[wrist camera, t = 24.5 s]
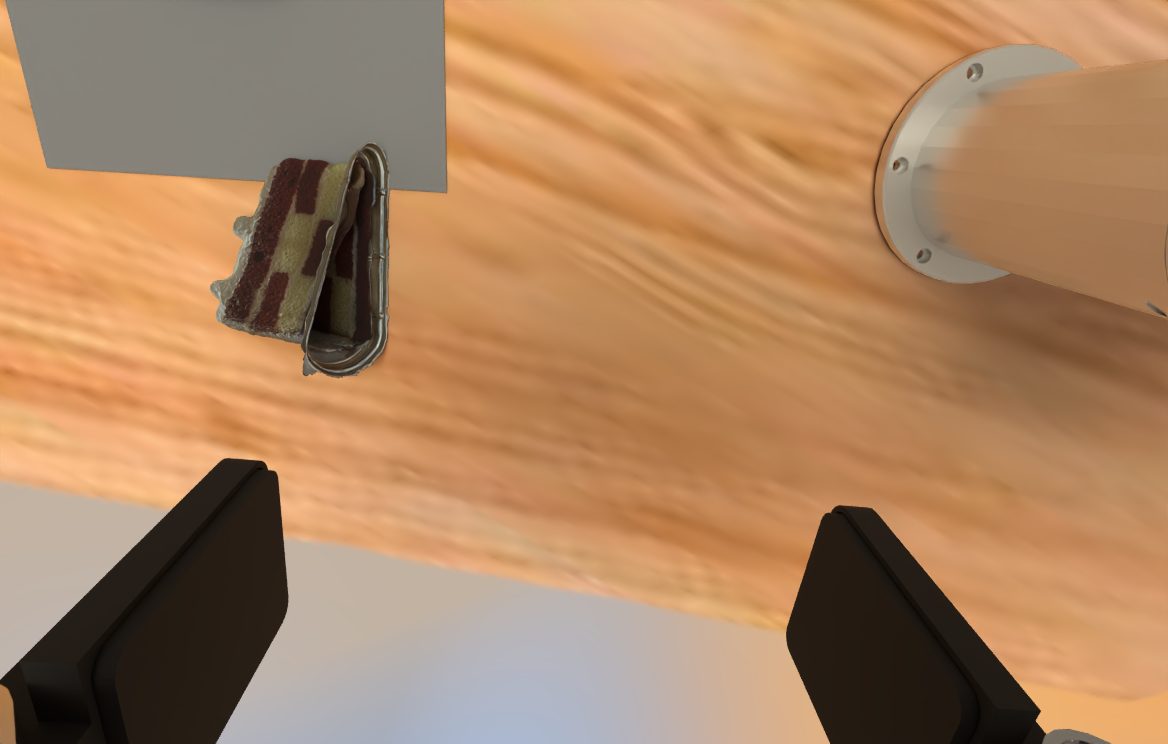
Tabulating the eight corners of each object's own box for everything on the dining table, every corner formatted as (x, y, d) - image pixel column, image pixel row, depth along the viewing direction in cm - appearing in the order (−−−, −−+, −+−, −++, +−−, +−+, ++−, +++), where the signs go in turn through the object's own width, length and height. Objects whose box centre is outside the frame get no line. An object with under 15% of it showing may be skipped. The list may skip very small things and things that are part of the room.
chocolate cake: (247, 106, 30) (114, 304, 26) (374, 125, 29) (261, 336, 24) (329, 227, 39) (242, 392, 34) (430, 245, 38) (354, 418, 33)
